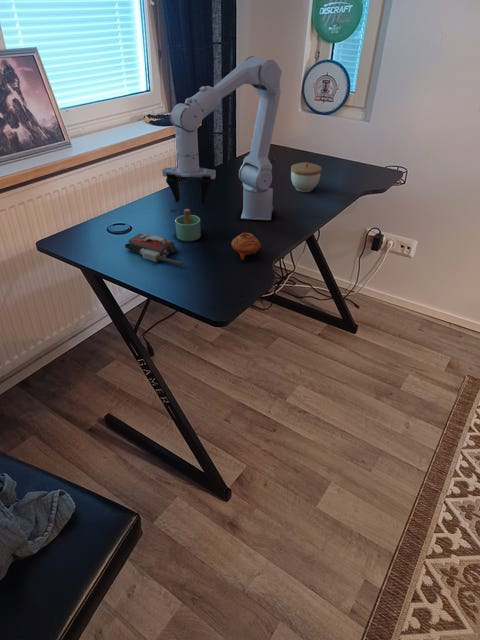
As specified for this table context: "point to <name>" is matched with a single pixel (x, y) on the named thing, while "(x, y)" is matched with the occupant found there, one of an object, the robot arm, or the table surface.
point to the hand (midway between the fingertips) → (190, 201)
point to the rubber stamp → (187, 217)
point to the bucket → (188, 228)
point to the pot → (245, 244)
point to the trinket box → (305, 176)
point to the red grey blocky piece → (152, 248)
